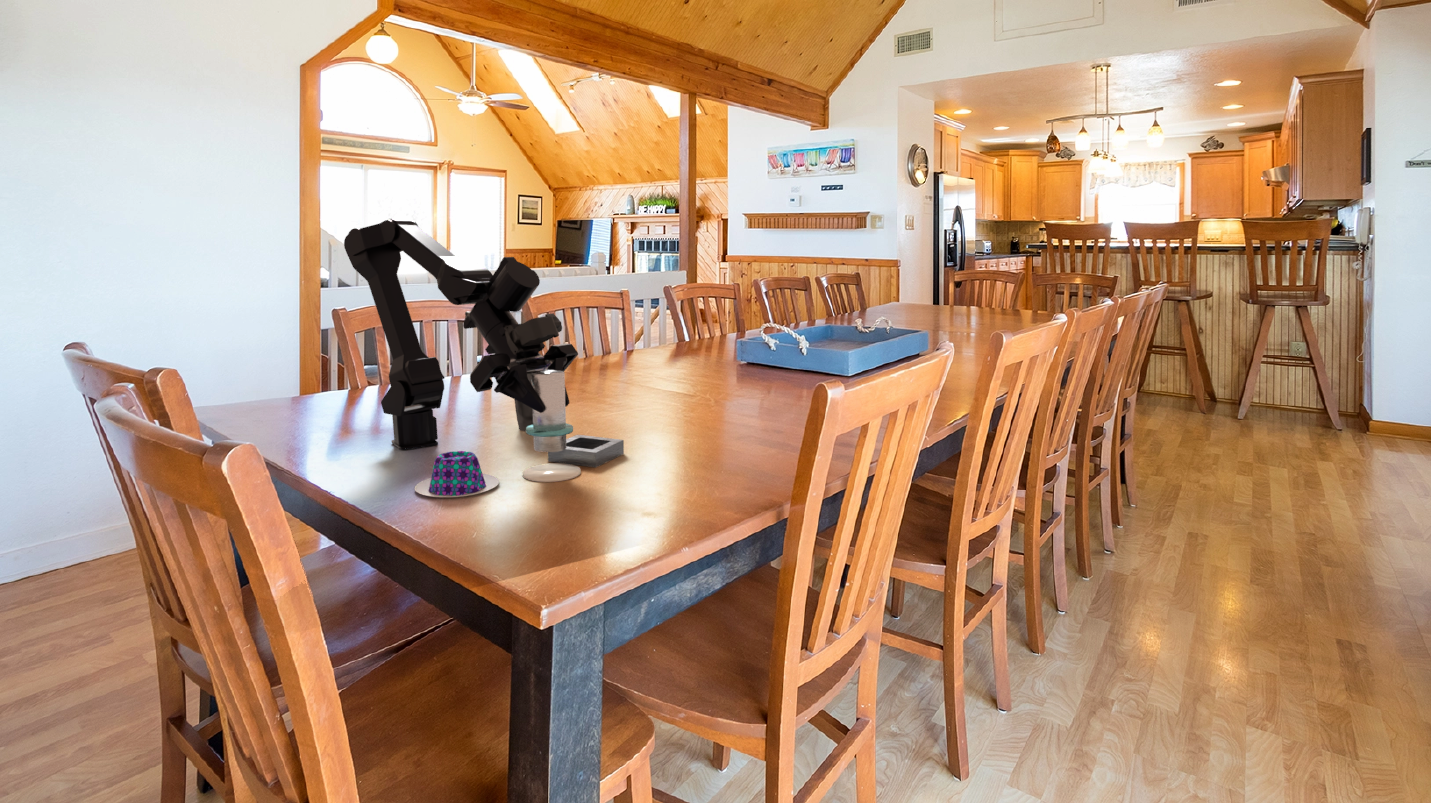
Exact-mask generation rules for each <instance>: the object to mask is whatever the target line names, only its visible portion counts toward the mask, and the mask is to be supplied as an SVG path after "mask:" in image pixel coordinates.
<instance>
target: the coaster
mask: <svg viewBox="0 0 1431 803" xmlns="http://www.w3.org/2000/svg"><path fill="white" fill-rule="evenodd" d="M581 470H582V469H581V467H580V466H579V465H572V464H565V463H557V462H551V463H549V462H548V463H543V464H542V463H541V464H536V465H533V466H529V467H527V468H525V469H524V470H522V477H523V478H524V479H526V480H527V481H531V482H538V483H554V482H564V481H569V480H573V479H575V478H578V476H580V475H581V473H582V471H581Z"/></svg>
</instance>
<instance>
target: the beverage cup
mask: <svg viewBox="0 0 1431 803" xmlns="http://www.w3.org/2000/svg"><path fill="white" fill-rule="evenodd" d="M538 354H539V356H541V355H542V354H541V353H540V352H539V353H538ZM534 371H535V370H533V371H528V372H527V377H528V380H529V381H530V383H531V384H532V378H531V373H532V372H534ZM514 406H515V414H516V415H515V416H516V421H517V424H518V425H517V426H518V430H519V431H522V432H526V427H528V426H530V425H533V409H532V408H530V407H529V406H527V405H525V404H523V403H521V402H519V401H517V400H515V399H514Z"/></svg>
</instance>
